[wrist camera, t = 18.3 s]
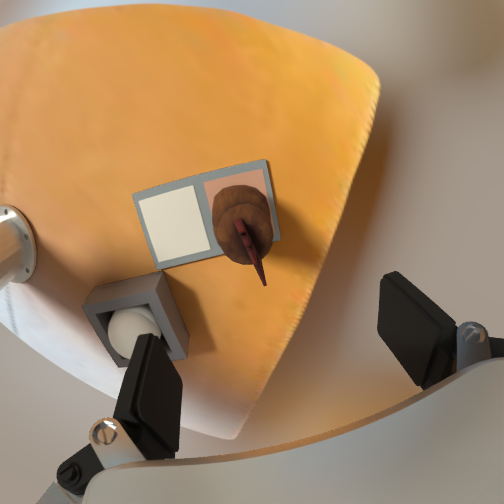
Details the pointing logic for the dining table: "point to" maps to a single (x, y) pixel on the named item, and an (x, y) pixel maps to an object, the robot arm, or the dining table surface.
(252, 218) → the wooden figurine
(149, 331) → the dome
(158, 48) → the dining table surface
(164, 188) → the grey flat tray
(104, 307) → the dome housing
